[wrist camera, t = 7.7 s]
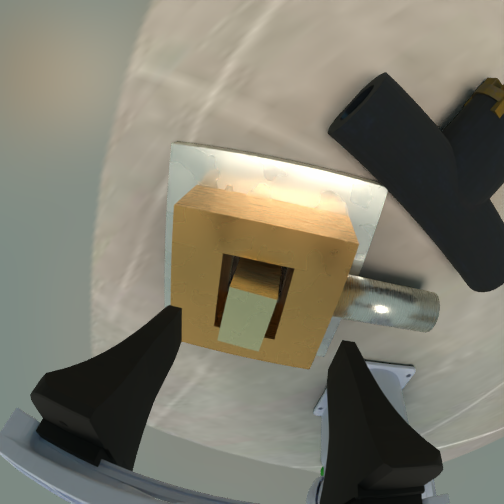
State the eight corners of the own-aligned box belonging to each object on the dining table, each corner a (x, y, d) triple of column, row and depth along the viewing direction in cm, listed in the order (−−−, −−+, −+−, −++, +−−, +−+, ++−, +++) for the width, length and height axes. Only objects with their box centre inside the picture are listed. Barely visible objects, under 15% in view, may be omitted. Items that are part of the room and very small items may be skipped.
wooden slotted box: (383, 357, 26) (392, 400, 21) (168, 314, 27) (147, 353, 22) (456, 207, 18) (489, 236, 14) (177, 141, 19) (143, 155, 15)
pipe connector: (464, 0, 8) (579, 197, 11) (429, 17, 13) (540, 174, 16) (332, 139, 14) (481, 306, 16) (325, 128, 18) (455, 266, 21)
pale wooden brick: (270, 285, 24) (258, 351, 18) (238, 277, 24) (217, 340, 18) (284, 240, 22) (277, 300, 16) (250, 230, 22) (229, 286, 16)
